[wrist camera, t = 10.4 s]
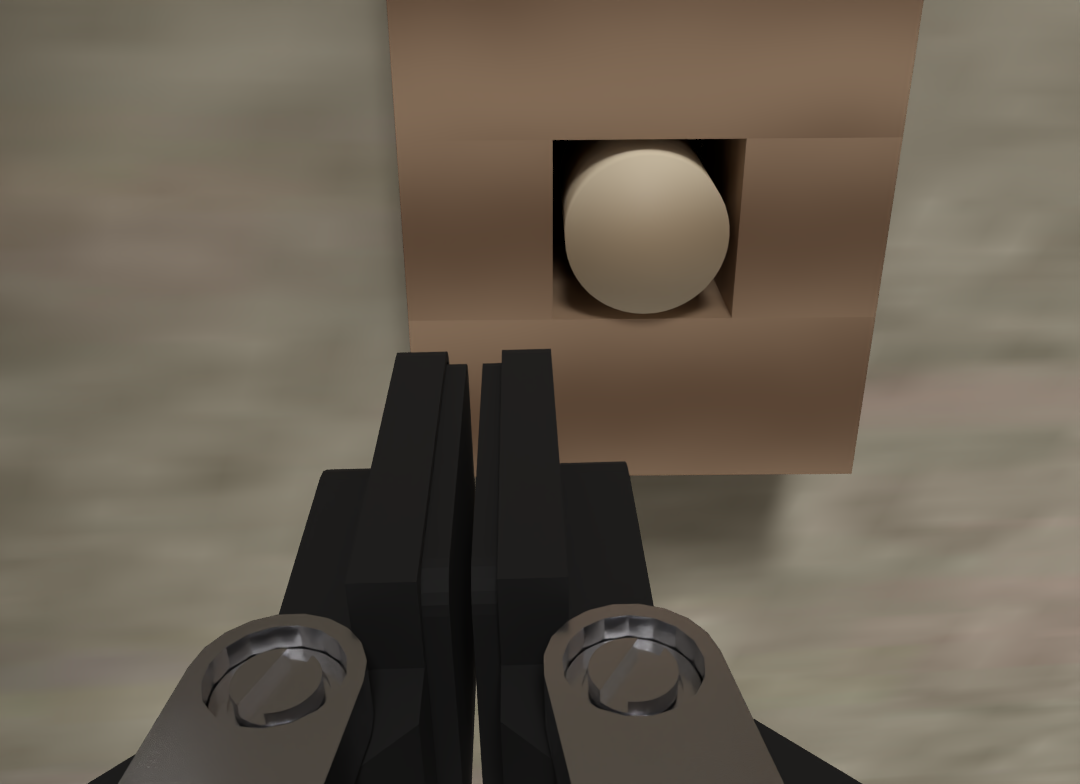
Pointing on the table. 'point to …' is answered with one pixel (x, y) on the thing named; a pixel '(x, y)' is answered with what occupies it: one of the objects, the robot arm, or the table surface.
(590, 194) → the peg
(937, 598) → the table surface
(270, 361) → the table surface
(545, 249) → the press block
